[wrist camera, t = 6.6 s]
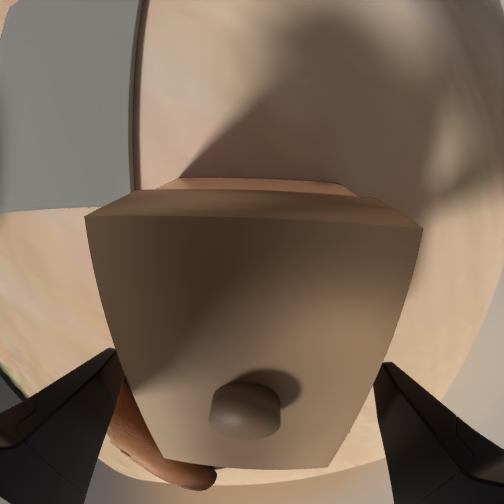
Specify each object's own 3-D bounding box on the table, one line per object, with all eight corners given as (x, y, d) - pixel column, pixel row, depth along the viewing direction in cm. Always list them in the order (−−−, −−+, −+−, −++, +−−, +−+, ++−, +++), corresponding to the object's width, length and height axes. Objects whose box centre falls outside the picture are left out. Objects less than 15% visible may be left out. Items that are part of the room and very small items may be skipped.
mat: (155, -56, 7) (153, -60, 6) (135, 203, 13) (131, 205, 13) (13, 8, 7) (9, 7, 7) (0, 210, 13) (-5, 213, 13)
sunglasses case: (59, 373, 19) (50, 421, 13) (116, 343, 21) (120, 390, 16) (158, 468, 25) (173, 508, 20) (204, 446, 28) (225, 485, 22)
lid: (375, 197, 8) (442, 241, 4) (321, 418, 12) (329, 481, 9) (137, 190, 8) (63, 227, 5) (177, 411, 12) (160, 471, 9)
